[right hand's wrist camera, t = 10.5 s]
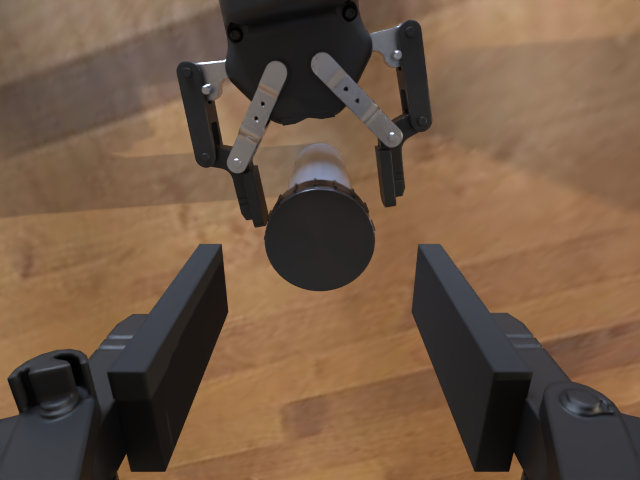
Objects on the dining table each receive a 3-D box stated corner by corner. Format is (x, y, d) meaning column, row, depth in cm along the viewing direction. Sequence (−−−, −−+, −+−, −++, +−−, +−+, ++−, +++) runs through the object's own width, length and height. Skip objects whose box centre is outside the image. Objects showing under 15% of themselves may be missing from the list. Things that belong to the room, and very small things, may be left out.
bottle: (342, 195, 33) (358, 283, 19) (292, 191, 33) (272, 275, 19) (348, 145, 31) (371, 199, 17) (296, 140, 31) (277, 190, 17)
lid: (364, 279, 20) (368, 297, 19) (265, 270, 20) (260, 288, 18) (379, 183, 18) (384, 193, 17) (270, 173, 18) (265, 182, 17)
